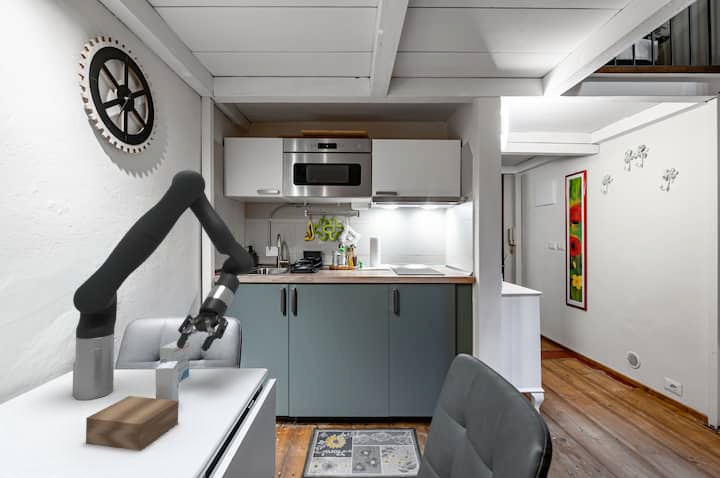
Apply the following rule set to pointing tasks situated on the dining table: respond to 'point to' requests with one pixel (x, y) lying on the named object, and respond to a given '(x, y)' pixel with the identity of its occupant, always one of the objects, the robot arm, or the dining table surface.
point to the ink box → (177, 357)
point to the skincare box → (167, 381)
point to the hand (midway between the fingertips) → (191, 348)
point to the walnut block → (132, 423)
